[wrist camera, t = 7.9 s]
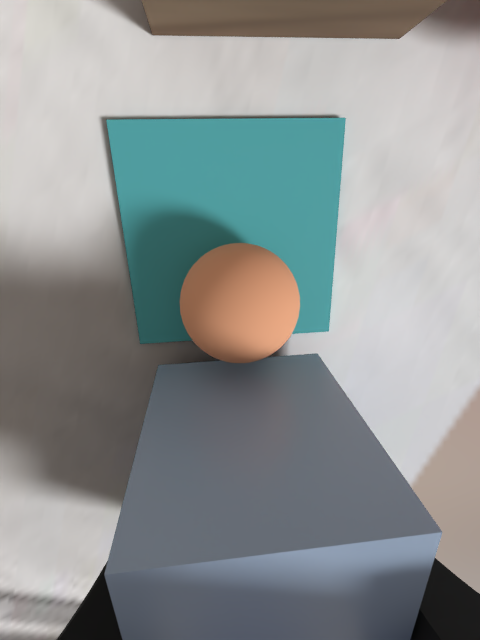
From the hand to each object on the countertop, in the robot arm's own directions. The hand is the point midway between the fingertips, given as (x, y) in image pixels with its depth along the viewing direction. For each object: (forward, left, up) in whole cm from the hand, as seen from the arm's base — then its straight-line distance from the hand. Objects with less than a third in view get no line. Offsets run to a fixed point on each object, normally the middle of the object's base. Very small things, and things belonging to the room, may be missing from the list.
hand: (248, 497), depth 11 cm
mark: (+9, 0, -3) cm, 9 cm away
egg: (+7, 0, -1) cm, 7 cm away
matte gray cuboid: (0, 0, -2) cm, 2 cm away
